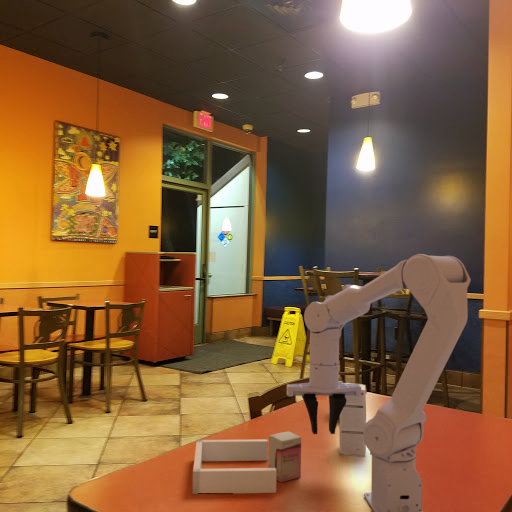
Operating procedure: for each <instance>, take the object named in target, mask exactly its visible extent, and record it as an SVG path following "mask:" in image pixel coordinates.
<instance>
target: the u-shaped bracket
mask: <svg viewBox="0 0 512 512" xmlns="http://www.w3.org/2000/svg"><path fill="white" fill-rule="evenodd" d="M195 445H196V446H195V452H194V461H193V468H192V495H199V494H198V493H233V494H275V493H277V480H276V468H268V467H240V468H239V467H238V468H237V467H235V468H232V467H231V468H230V467H229V468H224V467H223V468H202V467H203V465H202V464H203V462H240V461H241V462H245V461H247V462H248V461H250V462H251V461H252V462H254V461H255V462H257V461H259V462H261V461H268V462H269V438H268V439H263V438H262V439H261V438H260V439H259V438H258V439H196V444H195ZM201 466H202V467H201Z"/></svg>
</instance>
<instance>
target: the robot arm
mask: <svg viewBox="0 0 512 512" xmlns="http://www.w3.org/2000/svg"><path fill="white" fill-rule="evenodd" d="M471 280H472V279H471V277H470V274H469V273H468V271H467V269H466V266H465V265H464V263H463V262H462V261H461V260H460V259H459V258H458V257H455V256H453V255H443V256H441V255H428V254H424V253H423V254H421V253H418V254H415V255H412V256H411V257H409V258H408V259H404V260H401V261H399V262H398V263H397V264H396V265H395V266H394V267H391V268H390V269H389V270H387V271H386V272H384V273H382V274H380V275H379V276H378V277H376V278H373V280H371V281H369V282H367V283H365V284H364V285H363V286H360V285H357V284H344V285H343V286H341V289H342V290H341V291H339V292H337V293H335V294H333V295H327V296H325V300H324V301H322V302H319V301H312V302H310V304H309V305H308V306H307V307H306V308H305V310H304V314H303V320H304V323H305V327H306V328H307V329H308V330H309V380H308V382H303V383H289V384H286V395H287V397H294V396H299V397H300V396H301V398H302V400H303V402H304V405H305V407H306V411H307V413H308V417H309V421H310V427H311V433H312V434H313V435H318V410H319V409H318V408H319V401H318V397H317V396H325V397H326V396H328V405H329V417H328V419H329V420H328V431H329V433H330V434H331V435H335V434H336V429H337V425H338V421H339V420H338V419H339V416H340V414H341V412H342V410H343V408H344V406H345V405H346V398H345V396H346V395H355V396H361V386H360V385H358V384H359V383H356V384H342V383H339V377H340V375H339V372H340V371H339V370H340V369H339V368H340V363H339V362H340V339H341V337H342V329H343V328H344V326H345V325H346V323H348V322H350V321H353V320H355V319H357V318H358V317H360V316H363V315H366V314H367V313H368V312H369V311H370V308H371V304H372V303H374V302H376V301H379V300H381V299H383V298H386V297H388V296H390V295H393V294H394V293H395V294H396V293H397V292H399V291H402V290H405V289H406V290H408V291H409V292H410V294H412V296H413V297H414V298H415V300H416V301H417V302H418V304H419V305H420V306H421V307H422V308H423V310H424V312H425V315H426V317H427V321H425V322H426V323H425V325H424V326H423V329H422V332H421V333H420V336H419V337H418V340H417V342H416V344H415V346H414V348H413V351H412V353H411V354H410V357H409V358H408V360H407V364H406V365H405V367H404V370H403V372H402V373H401V376H400V377H399V380H398V382H397V384H396V386H395V389H394V391H393V393H392V394H391V397H390V398H389V399H388V400H387V401H386V402H385V403H384V404H382V405H381V406H380V407H379V408H378V409H377V411H376V414H374V416H373V417H372V418H371V419H368V421H366V424H365V426H364V429H363V438H364V442H365V444H366V449H368V451H369V454H370V456H371V486H370V488H371V489H370V490H371V492H364V493H363V497H364V498H365V500H366V501H367V503H368V505H369V507H371V509H372V511H373V512H424V511H423V481H422V477H421V475H420V473H419V472H418V471H417V468H416V453H417V446H418V445H419V444H420V443H421V442H422V440H423V438H424V425H425V422H426V420H427V419H428V418H427V417H428V416H427V415H426V413H425V412H424V409H425V406H426V404H427V403H428V400H429V399H430V397H431V395H432V393H433V391H434V388H435V386H436V385H437V382H438V381H439V378H440V376H441V375H442V374H443V373H442V372H443V371H444V368H445V366H446V364H447V362H448V361H449V359H450V357H451V355H452V353H453V350H454V349H455V347H456V344H457V342H458V340H459V338H460V337H461V335H462V333H463V331H464V329H465V326H466V325H467V322H468V315H469V314H468V311H469V310H468V289H469V288H468V287H469V286H470V283H471Z"/></svg>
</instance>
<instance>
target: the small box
mask: <svg viewBox="0 0 512 512" xmlns="http://www.w3.org/2000/svg"><path fill="white" fill-rule="evenodd" d="M267 468H276V481H278V482H280V483H283V482H287V481H291V480H294V479H298V478H300V477H301V472H302V471H301V469H302V437H301V436H300V435H297V434H295V433H294V432H291V431H283V432H277V433H273V434H269V435H268V467H267Z"/></svg>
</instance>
